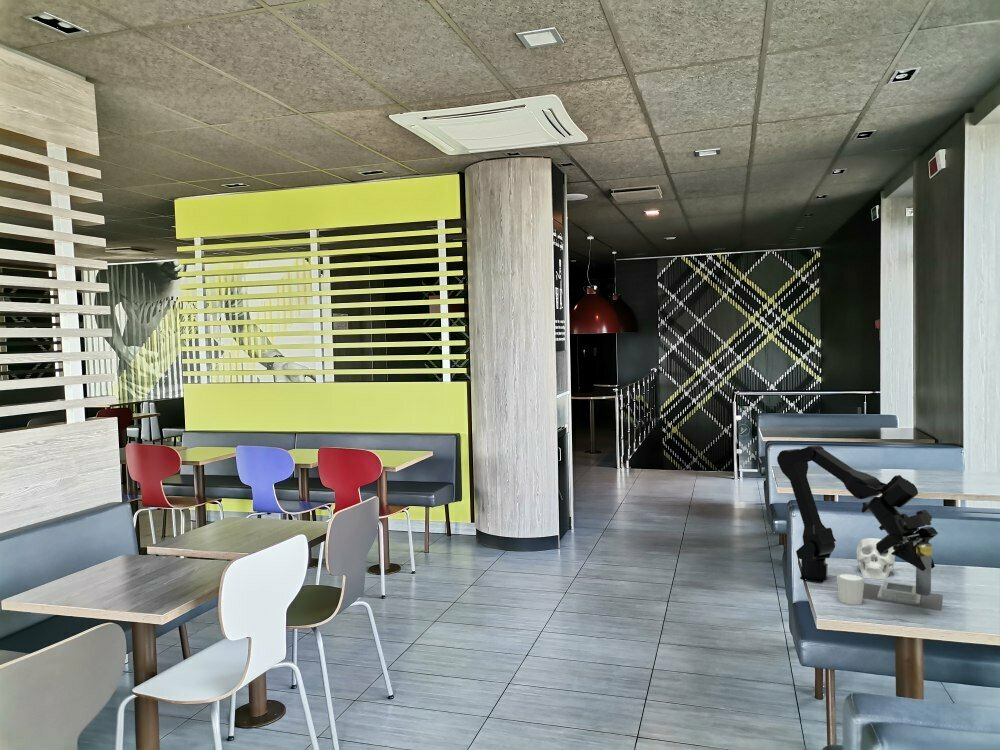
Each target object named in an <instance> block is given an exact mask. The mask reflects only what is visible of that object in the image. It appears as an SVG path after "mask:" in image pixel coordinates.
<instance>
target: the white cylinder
mask: <svg viewBox="0 0 1000 750" xmlns="http://www.w3.org/2000/svg"><path fill="white" fill-rule="evenodd" d="M865 578H866V577H865V576H863V575H862V576H861V575H858V574H855V573H839V574H837V575H836V581H837V593H838V601H839V602H841V603H843V604H847V605H854V606H855V605H861V604H863V599H864V598H863V590H864V583H865Z"/></svg>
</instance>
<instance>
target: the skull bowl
mask: <svg viewBox="0 0 1000 750" xmlns="http://www.w3.org/2000/svg"><path fill="white" fill-rule="evenodd" d="M882 539H883V538H876V537H875V538H874V537H867V538H864V539H861V540H860V541H859V542H858V544H857V547H856V560H857V564H858V566H859V569H860V573H861V575H862V576H863V577H864V578H868V579H872V580H884V579H888V578H889V576H890V572H892V570H893V568H894V566H895V564H896V563H895V561H896V556H895V555H892V554H891V553H892V552H894V549H893V547H891V548H889V549H888V553H887V554H882V555H880V553H879V552H878V551H877V549H876V544H877V543H878V542H879V541H880V540H882Z"/></svg>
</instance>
